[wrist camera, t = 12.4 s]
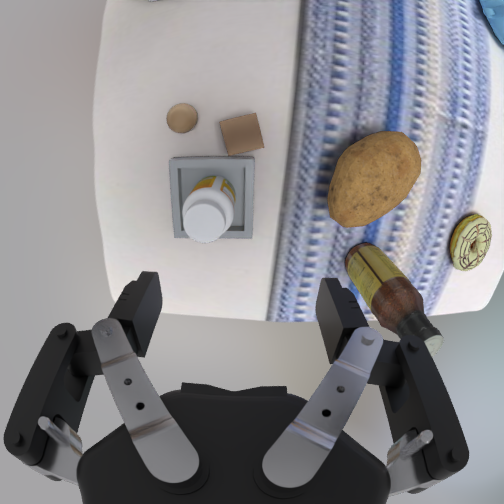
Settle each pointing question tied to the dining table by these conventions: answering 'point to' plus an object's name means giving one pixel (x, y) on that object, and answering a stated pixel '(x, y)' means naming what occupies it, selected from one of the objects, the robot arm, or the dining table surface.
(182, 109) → the cork ball
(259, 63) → the dining table surface
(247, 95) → the dining table surface
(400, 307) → the sauce bottle
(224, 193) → the supplement bottle
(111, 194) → the dining table surface
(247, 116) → the walnut block
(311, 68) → the dining table surface
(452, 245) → the decorated donut
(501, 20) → the decorative pot
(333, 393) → the robot arm
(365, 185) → the potato
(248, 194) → the tray
